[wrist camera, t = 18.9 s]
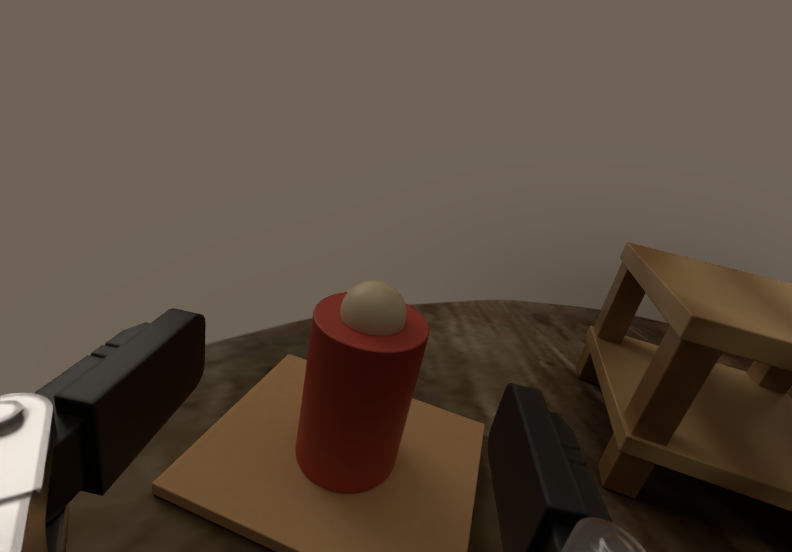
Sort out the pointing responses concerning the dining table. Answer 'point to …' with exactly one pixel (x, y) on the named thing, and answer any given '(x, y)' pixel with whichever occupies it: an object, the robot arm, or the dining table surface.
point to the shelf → (695, 377)
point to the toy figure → (358, 386)
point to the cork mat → (315, 506)
